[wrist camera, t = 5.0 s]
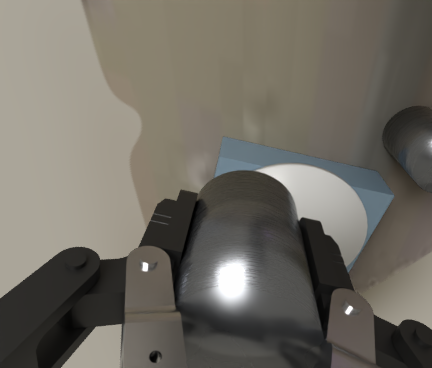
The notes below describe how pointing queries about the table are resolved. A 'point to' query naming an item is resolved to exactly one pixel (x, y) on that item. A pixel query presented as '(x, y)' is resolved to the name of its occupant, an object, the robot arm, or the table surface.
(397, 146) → the cylinder
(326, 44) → the table surface
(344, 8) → the table surface
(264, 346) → the cylinder
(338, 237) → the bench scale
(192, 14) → the table surface
